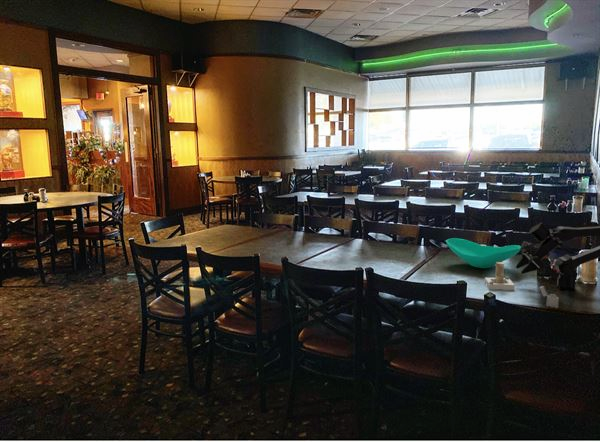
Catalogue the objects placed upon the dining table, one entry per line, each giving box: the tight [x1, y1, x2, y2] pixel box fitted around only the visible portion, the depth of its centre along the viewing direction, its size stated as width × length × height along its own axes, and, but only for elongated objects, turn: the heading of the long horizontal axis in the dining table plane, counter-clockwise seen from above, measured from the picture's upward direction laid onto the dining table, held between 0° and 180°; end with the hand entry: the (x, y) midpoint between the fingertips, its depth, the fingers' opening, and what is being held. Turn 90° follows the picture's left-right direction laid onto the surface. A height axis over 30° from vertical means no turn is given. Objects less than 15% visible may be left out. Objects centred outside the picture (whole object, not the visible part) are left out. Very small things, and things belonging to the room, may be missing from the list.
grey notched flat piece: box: [539, 285, 560, 309], centre depth 195 cm, size 7×2×8 cm, turn 47°
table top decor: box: [445, 237, 522, 269], centre depth 256 cm, size 40×28×13 cm
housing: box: [484, 276, 516, 291], centre depth 223 cm, size 11×11×3 cm
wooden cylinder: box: [494, 261, 505, 283], centre depth 222 cm, size 3×3×12 cm
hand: (518, 270), depth 220 cm, fingers open, 9 cm apart
